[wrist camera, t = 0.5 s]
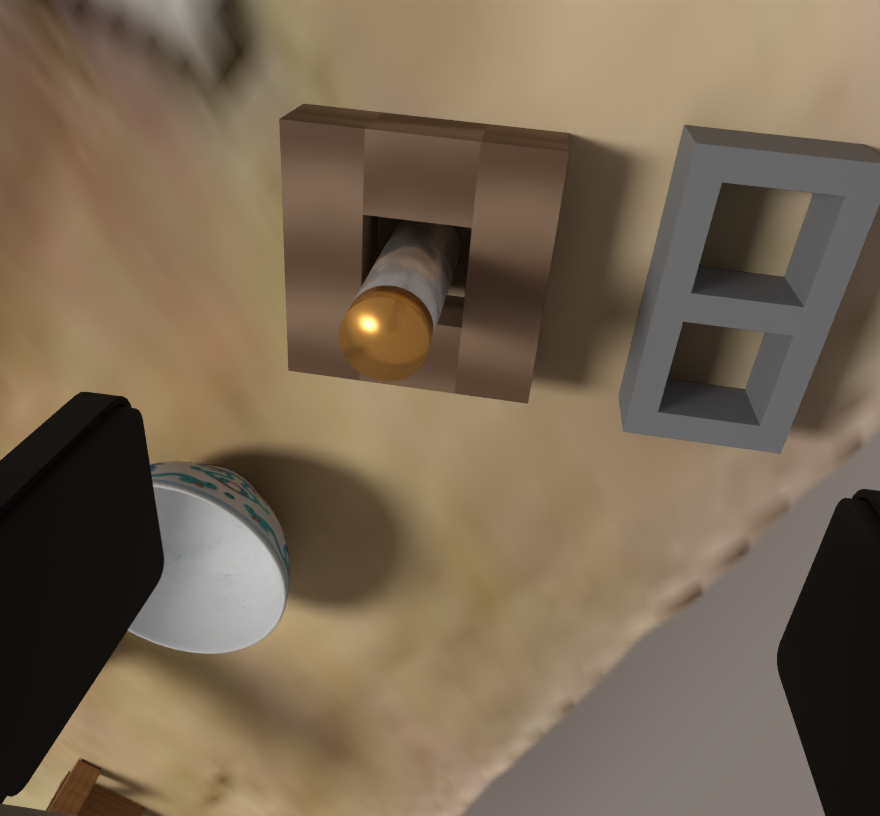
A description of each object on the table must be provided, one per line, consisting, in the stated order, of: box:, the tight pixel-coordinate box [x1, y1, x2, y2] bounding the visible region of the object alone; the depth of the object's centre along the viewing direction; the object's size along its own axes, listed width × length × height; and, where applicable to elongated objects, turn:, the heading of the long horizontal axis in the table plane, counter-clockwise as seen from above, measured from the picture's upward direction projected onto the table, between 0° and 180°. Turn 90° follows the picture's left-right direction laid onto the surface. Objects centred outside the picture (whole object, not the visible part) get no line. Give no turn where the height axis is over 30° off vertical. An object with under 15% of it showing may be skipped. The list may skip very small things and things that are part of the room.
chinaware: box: [128, 461, 290, 654], centre depth 52 cm, size 15×15×8 cm
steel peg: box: [339, 220, 460, 381], centre depth 38 cm, size 4×4×12 cm
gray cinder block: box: [619, 125, 880, 454], centre depth 40 cm, size 16×9×4 cm, turn 176°
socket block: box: [279, 104, 570, 403], centre depth 41 cm, size 14×14×4 cm
